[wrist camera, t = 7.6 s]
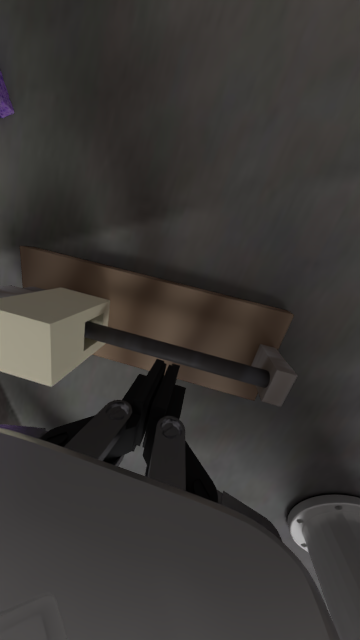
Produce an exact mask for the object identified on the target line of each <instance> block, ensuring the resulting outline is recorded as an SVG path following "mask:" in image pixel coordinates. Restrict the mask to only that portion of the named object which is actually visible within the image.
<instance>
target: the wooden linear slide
mask: <svg viewBox="0 0 360 640" xmlns="http://www.w3.org/2000/svg"><path fill="white" fill-rule="evenodd" d="M20 256H21V269H22V283H23V288H19V287H15V286H12V285H10V286H2V287H0V298H3V297H9V296H15V295H21V294H26V293H32V292H38V291H44V290H49V289H55V288H65V289H69V290H73V291H77V292H80V293H84V294H88V295H92V296H95V297H99V298H103V299H107V300H110V308H109V318H108V327H107V326H104V325H100V324H97V323H93V322H89V321H87V322H85V333H84V337H85V338H89V339H92V340H96V341H99V342H103V343H106V344H105V345H103V346H102V347H101V348H100V349H98V350H97V351H96V352H95V353H93V355H96V356H100V357H103V358H106V359H110V360H113V361H117V362H120V363H124V364H127V365H131V366H134V367H138V368H141V369H145V370H148V371H150V369H151V368H152V366H153V364H154V363H155V361H156V359H159V360H163V361H164V363H165V364H167V365H166V370H167V368H168V366H169V365H172V364H176V365H180V368H179V372H178V375H177V379H180V380H183V381H186V382H190V383H193V384H197V385H200V386H204V387H207V388H211V389H214V390H218V391H221V392H225V393H228V394H232V395H235V396H239V397H242V398H246V399H249V400H253V401H254V400H255V398H256V396H257V394H258V393H259V396H260V398H261V401H262V402H265V403H269V404H272V405H276V406H279V407H281V406H282V404H283V402H284V400H285V398H286V397H287V395H288V393H289V391H290V389H291V387H292V385H293V384H294V382H295V380H296V378H297V376H298V375H297V374H296V373H295V372H294V370H293V369H292V368H291V367H290V365H289V364H288V363H287V362H286V360H285V359H284V358H283V356H282V355H281V354H280V353H279V351H278V349H279V347H280V345H281V342H282V340H283V338H284V336H285V334H286V332H287V330H288V327H289V325H290V323H291V321H292V319H293V317H294V314H292V313H290V312H289V311H287V310H283V309H279V308H275V307H271V306H267V305H263V304H259V303H255V302H251V301H247V300H243V299H239V298H235V297H231V296H227V295H223V294H219V293H215V292H211V291H207V290H203V289H199V288H195V287H191V286H187V285H183V284H179V283H175V282H171V281H167V280H163V279H159V278H156V277H152V276H148V275H144V274H140V273H136V272H132V271H128V270H124V269H120V268H116V267H112V266H108V265H104V264H100V263H96V262H92V261H88V260H84V259H80V258H76V257H72V256H68V255H64V254H60V253H56V252H52V251H48V250H44V249H40V248H36V247H29V246H20ZM166 370H165V373H166ZM164 375H165V374H164Z"/></svg>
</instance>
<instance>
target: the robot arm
mask: <svg viewBox="0 0 360 640" xmlns="http://www.w3.org/2000/svg"><path fill="white" fill-rule="evenodd" d="M166 365H167V364H165V363H164V361H163V360H159V359H156V361H155V363H154V364H153V366H152V368H151V369H150V371H149V373H148V375H147V376H145V375H142V374H139V375H138V377H137V378H136V380H135V381H134V383H133V384H132V386H131V387H130V389H129V390H128V392H127V393H126V395H125V396H124V398H123V399H122V400H114V401H111V402H109V403H108V404H107V405H105V406H104V407H103V408H102V409H101V410H100V411H99V412H98V413H97V414H96V415H95V416H91V417H88V418H85V419H82V420H79V421H75V422H72V423H69V424H66V425H63V426H60V427H56V428H54V429H52V430H50V431H46V428H37V427H26V426H15V425H0V640H360V498H358V497H354V496H348V495H338V494H332V495H321V496H315V497H312V498H309V499H306V500H304V501H302V502H300V503H299V504H297V505H296V506H295V507H294V508H293V509H292V510H291V511H290V513H289V515H288V520H287V523H288V527H289V530H290V533H291V536H292V538H293V539H294V541H295V542H296V543H297V544H298V545H299V546H300V547H301V548H303V549H304V550H306V551H307V552H309V554H310V557H311V560H312V563H313V566H314V569H315V572H316V574H317V577H318V580H319V583H320V586H321V589H322V592H323V595H324V597H325V600H326V603H327V606H328V609H329V611H328V609H327V606H326V604H325V602H324V600H323V598H322V595H321V593H320V591H319V589H318V587H317V585H316V584H315V582H314V580H313V578H312V577H311V575H310V573H309V572H308V570H307V569H306V568H305V566H304V565H303V564H302V562H301V561H300V560H299V559H298V557H297V556H296V555H295V554H294V553H293V552H292V551H291V550H290V549H289V548H288V547H287V546H286V545H285V544H284V543H283V542H282V539H281V537H280V535H279V532H278V531H277V529H276V528H275V526H274V525H273V524H272V523H271V522H270V521H269V520H268V519H267V518H265V517H264V516H262V515H261V514H259V513H258V512H256V511H254V510H253V509H251V508H250V507H248V506H247V505H245V504H243V503H242V502H240V501H239V500H237V499H236V498H234V497H233V496H231V495H229V494H228V493H226V492H225V491H223V493H221V492H220V491H218V490H217V489H216V487H215V485H214V483H213V481H212V480H211V478H210V477H209V475H208V474H207V472H206V471H205V469H204V468H203V466H202V465H201V463H200V462H199V460H198V459H197V457H196V456H195V454H194V453H193V451H192V450H191V448H190V447H189V445H188V444H187V442H186V441H185V427H184V425H183V423H182V422H181V421H180V420H179V418H180V414H181V409H182V404H183V399H184V394H185V389H186V388H184V387H181V386H178V385H175V383H176V379H177V375H178V372H179V368H180V365H176V364H172V365H169V366H168V368H167V370H166ZM165 370H166V373H165ZM164 374H165V375H164ZM145 432H146V433H145ZM144 434H145V438H144V442H143V447H144V452H143V457H144V459H145V461H146V464H147V467H146V472H145V476H143V475H140V474H137V473H134V472H132V471H129V470H126V469H123V468H120V467H118V466H119V465H120V463H121V461H122V460H123V457H124V454H127V453H129V452H131V451H134V450H135V447H136V445H138V446H140V444H141V442H142V439H143V437H144ZM329 612H330V613H329ZM330 615H331V616H330ZM331 617H332V618H331ZM332 620H333V621H332Z"/></svg>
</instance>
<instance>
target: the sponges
mask: <svg viewBox="0 0 360 640" xmlns="http://www.w3.org/2000/svg"><path fill="white" fill-rule="evenodd" d="M13 113H14V109H13V107H12V104H11V101H10V99H9V95H8V92H7V89H6V86H5V83H4V81H3V77H2V73H1V71H0V118H4V117H6V116H8V115H11V114H13Z"/></svg>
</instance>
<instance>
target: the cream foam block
mask: <svg viewBox="0 0 360 640" xmlns="http://www.w3.org/2000/svg"><path fill="white" fill-rule="evenodd" d="M109 308H110V300H107V299H103V298H99V297H95V296H92V295H88V294H84V293H80V292H77V291H73V290H69V289H65V288H55V289H49V290H44V291H38V292H32V293H26V294H21V295H15V296H9V297H3V298H0V371H1V372H4V373H7V374H11V375H14V376H17V377H20V378H24V379H27V380H30V381H34V382H37V383H40V384H43V385H47V386H50V387H52V386H54V385H55V384H56V383H57V382H59V381H60V380H61V379H62V378H63V377H65V376H66V375H67V374H68V373H70V372H71V371H72V370H73V369H75V368H76V367H77V366H78V365H80V364H81V363H82V362H83V361H85V360H86V359H87V358H88V357H90V356H91V355H92V354H93V353H95V352H96V351H97V350H98V349H100V348H101V347H102V346H103V345H105V344H106V343H103V342H99V341H96V340H92V339H89V338H85V337H84V333H85V322H87V321H89V322H93V323H97V324H100V325H104V326H107V327H108V318H109Z"/></svg>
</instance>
